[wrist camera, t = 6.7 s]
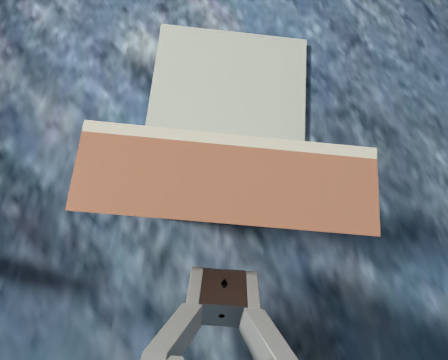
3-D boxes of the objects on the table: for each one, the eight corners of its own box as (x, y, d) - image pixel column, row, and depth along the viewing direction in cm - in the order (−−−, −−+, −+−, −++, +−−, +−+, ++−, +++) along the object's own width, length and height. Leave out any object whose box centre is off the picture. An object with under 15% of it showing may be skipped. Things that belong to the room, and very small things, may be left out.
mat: (301, 182, 20) (304, 181, 19) (141, 168, 19) (138, 166, 19) (304, 44, 22) (306, 39, 22) (162, 29, 22) (161, 23, 21)
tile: (277, 227, 19) (380, 236, 7) (158, 217, 19) (65, 210, 7) (278, 192, 20) (376, 148, 8) (163, 181, 19) (84, 120, 8)
